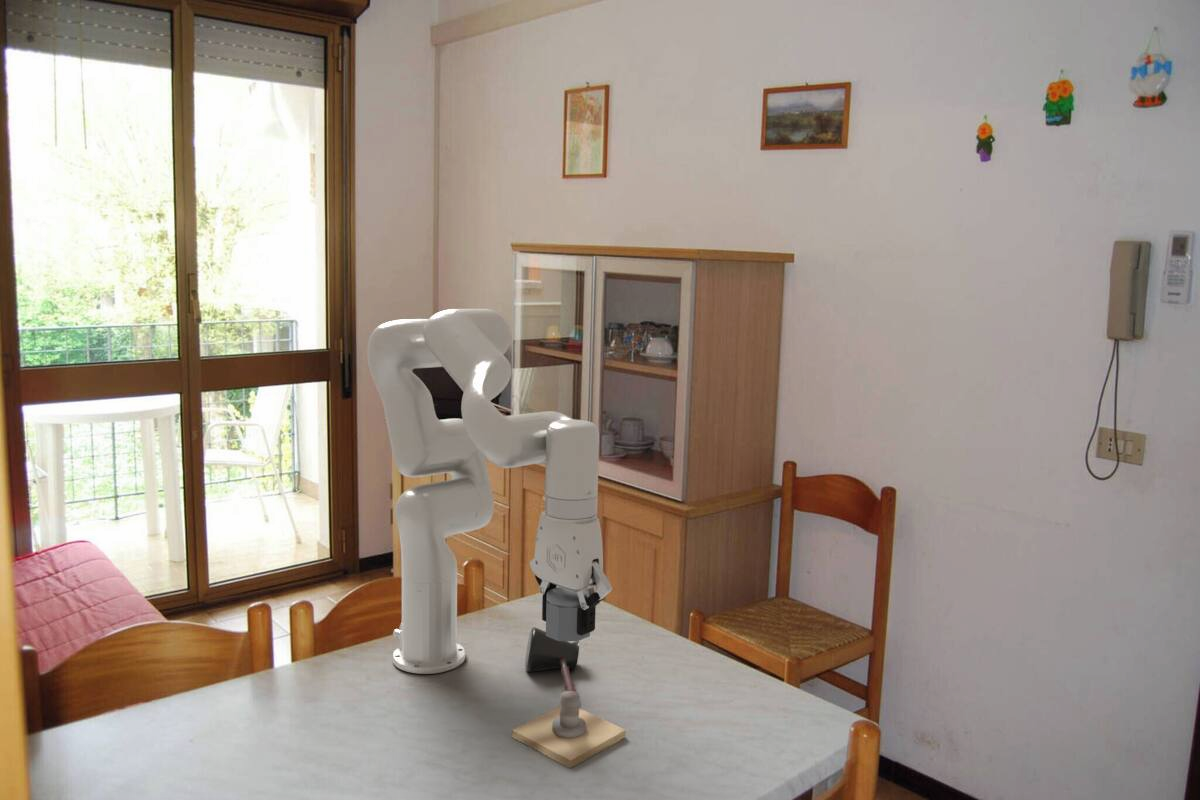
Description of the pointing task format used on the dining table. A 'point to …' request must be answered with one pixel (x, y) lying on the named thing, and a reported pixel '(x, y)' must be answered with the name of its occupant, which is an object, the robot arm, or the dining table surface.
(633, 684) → the dining table surface
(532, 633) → the coffee pot
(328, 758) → the dining table surface
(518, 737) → the plate with round knob
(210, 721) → the dining table surface
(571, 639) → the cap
